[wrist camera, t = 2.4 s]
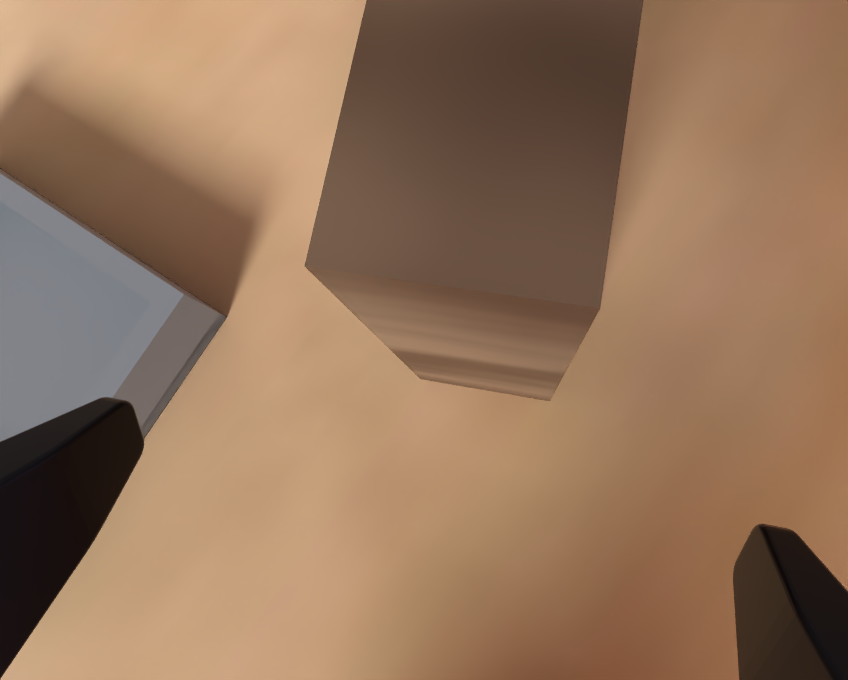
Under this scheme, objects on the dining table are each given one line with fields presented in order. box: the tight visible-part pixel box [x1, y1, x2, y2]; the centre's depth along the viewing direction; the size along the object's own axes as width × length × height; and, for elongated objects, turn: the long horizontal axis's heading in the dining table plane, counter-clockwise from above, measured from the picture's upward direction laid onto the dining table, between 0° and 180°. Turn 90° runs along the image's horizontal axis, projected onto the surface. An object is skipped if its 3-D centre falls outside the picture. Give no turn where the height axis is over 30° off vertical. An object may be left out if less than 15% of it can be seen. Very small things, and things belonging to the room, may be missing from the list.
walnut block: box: [305, 0, 643, 401], centre depth 15 cm, size 5×4×12 cm
